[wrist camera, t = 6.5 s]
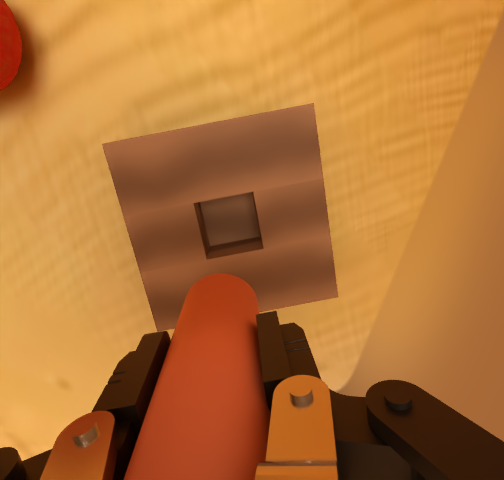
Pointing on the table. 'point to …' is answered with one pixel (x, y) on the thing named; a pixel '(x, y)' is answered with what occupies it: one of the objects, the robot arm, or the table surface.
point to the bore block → (228, 209)
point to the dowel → (208, 391)
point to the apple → (8, 46)
